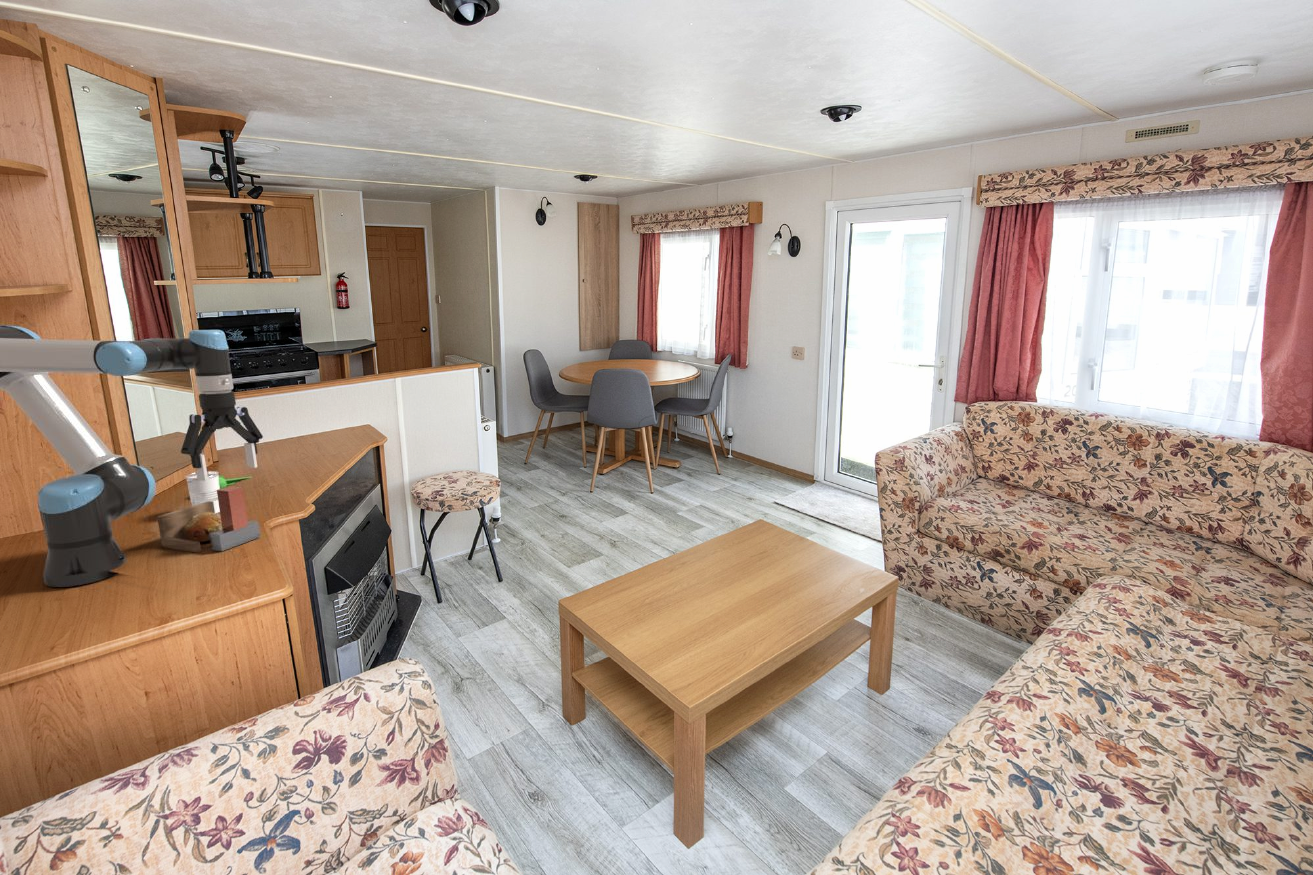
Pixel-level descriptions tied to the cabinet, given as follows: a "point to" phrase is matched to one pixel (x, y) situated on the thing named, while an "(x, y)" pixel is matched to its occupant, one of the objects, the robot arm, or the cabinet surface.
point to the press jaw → (233, 521)
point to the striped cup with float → (204, 489)
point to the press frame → (181, 527)
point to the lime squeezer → (228, 481)
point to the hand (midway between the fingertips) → (228, 473)
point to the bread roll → (202, 526)
